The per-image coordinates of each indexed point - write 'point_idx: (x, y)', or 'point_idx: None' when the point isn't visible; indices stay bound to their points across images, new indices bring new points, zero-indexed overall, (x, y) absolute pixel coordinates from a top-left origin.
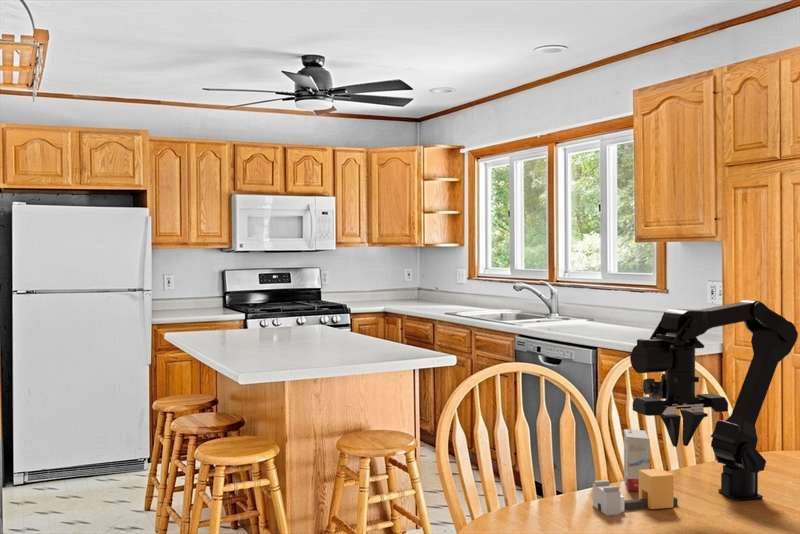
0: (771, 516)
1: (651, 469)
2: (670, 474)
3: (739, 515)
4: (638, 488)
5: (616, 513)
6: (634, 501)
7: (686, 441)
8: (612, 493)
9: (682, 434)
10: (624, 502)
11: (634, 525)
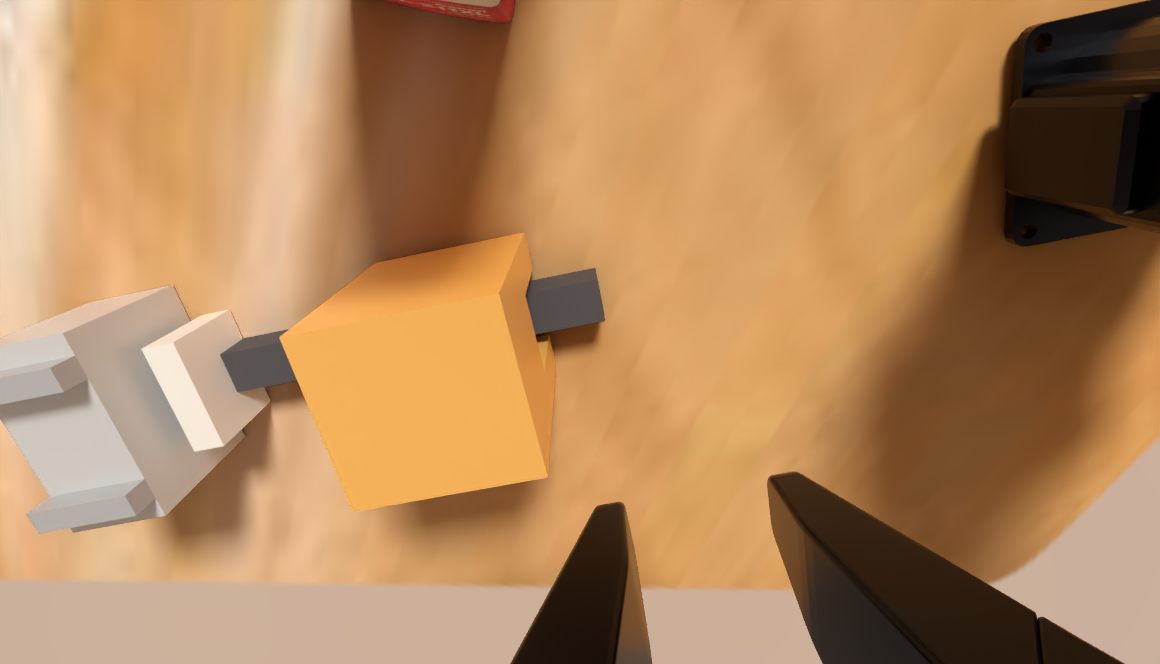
0: (1012, 473)
1: (403, 323)
2: (528, 463)
3: (861, 457)
4: (420, 8)
5: None
6: None
7: (798, 596)
8: (116, 521)
9: (831, 565)
10: (255, 381)
11: (297, 563)
